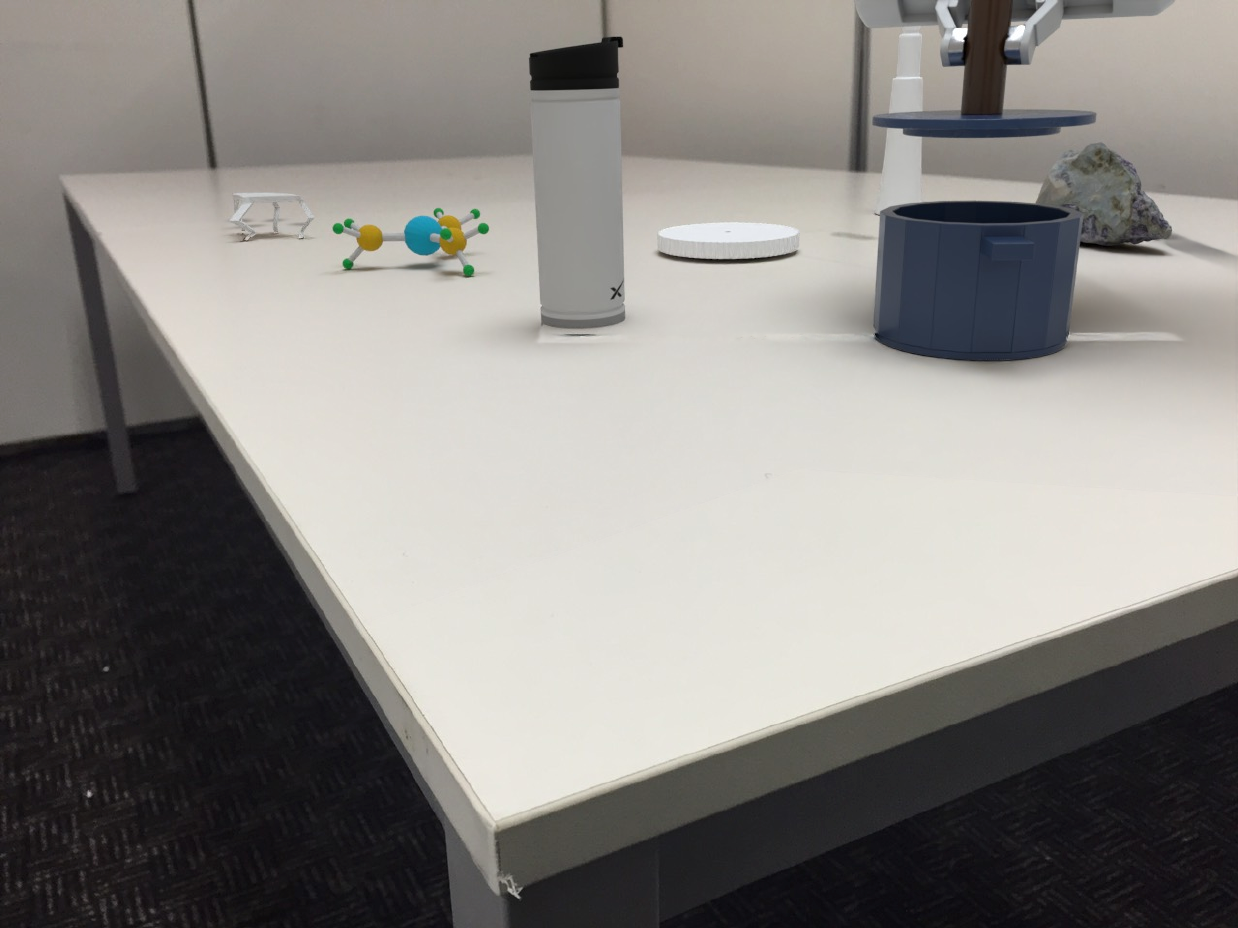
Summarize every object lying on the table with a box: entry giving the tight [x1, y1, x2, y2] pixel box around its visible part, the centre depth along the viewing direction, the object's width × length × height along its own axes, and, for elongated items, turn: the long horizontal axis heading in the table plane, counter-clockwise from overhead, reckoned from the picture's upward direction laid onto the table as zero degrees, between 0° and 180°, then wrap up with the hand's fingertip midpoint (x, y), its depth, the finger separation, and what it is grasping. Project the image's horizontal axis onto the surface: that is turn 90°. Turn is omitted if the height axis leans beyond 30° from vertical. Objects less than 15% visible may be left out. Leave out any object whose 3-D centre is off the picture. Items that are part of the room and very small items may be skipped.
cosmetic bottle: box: [874, 26, 924, 216], centre depth 131 cm, size 6×6×22 cm
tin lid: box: [871, 0, 1098, 139], centre depth 69 cm, size 14×14×9 cm
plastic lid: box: [656, 221, 800, 260], centre depth 107 cm, size 14×14×2 cm
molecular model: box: [332, 207, 490, 277], centre depth 105 cm, size 16×5×15 cm
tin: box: [872, 200, 1084, 361], centre depth 72 cm, size 13×18×8 cm
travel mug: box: [528, 36, 626, 336], centre depth 76 cm, size 6×7×20 cm
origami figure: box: [229, 192, 315, 239], centre depth 127 cm, size 12×8×5 cm
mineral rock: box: [1035, 141, 1173, 247], centre depth 107 cm, size 13×11×10 cm
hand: (984, 58), depth 68 cm, fingers closed on tin lid, 2 cm apart
